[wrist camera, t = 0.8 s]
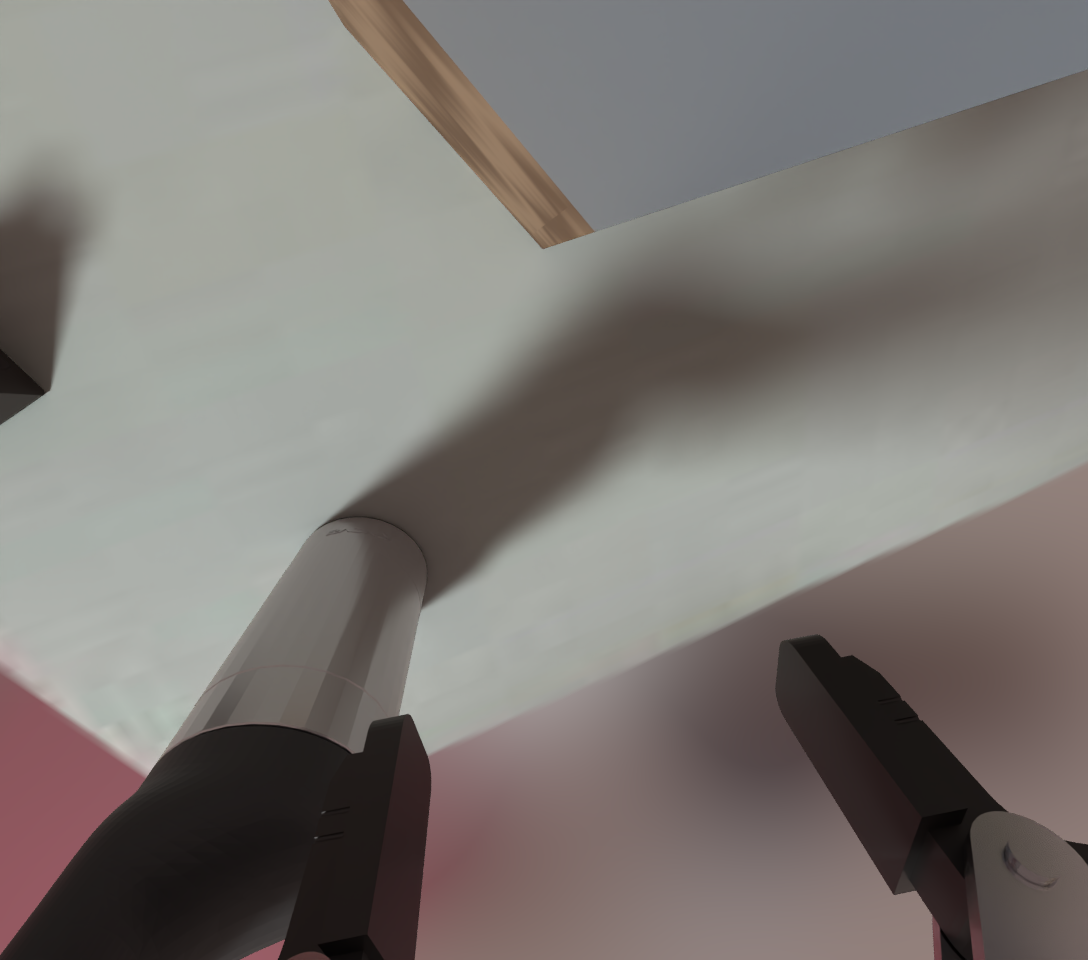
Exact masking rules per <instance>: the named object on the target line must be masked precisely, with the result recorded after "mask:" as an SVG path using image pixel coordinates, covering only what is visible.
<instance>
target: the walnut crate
mask: <svg viewBox="0 0 1088 960" xmlns="http://www.w3.org/2000/svg"><path fill="white" fill-rule="evenodd" d="M329 2H330V4H331V5H332V7H333V8H334V10H335V12H336V13H337V15H338V17H339V18H340V20H341V22H342V23H343V25H344V26H345V27H346V28H347V30H348V31H349V32H350V33H351V34H352V35H353V36H354V37H355V39H356V40H357V41H358V42H359V43H360V44H361V45H362V46H363V48H364V49H365V50H366V51H367V52H368V53H369V54H370V55H371V57H372V58H373V59H374V60H375V61H376V62H377V63H378V64H379V66H380V67H381V68H382V69H383V70H384V71H385V72H386V73H387V75H388V76H389V77H390V78H391V79H392V80H393V81H394V82H395V84H396V85H397V86H398V87H399V88H400V89H401V90H402V91H403V93H404V94H405V95H406V96H407V97H408V98H409V99H410V100H411V102H412V103H413V104H414V105H415V106H416V107H417V108H418V109H419V111H420V112H421V113H422V114H423V115H424V116H425V117H426V118H427V120H428V121H429V122H430V123H431V124H432V125H433V126H434V127H435V128H436V130H437V131H438V132H439V133H440V134H441V135H442V136H443V137H444V139H445V140H446V141H447V142H448V143H449V144H450V145H451V146H452V148H453V149H454V150H455V151H456V152H457V153H458V154H459V155H460V157H461V158H462V159H463V160H464V161H465V162H466V163H467V164H468V166H469V167H470V168H471V169H472V170H473V171H474V172H475V173H476V175H477V176H478V177H479V178H480V179H481V180H482V181H483V182H484V184H485V185H486V186H487V187H488V188H489V189H490V190H491V191H492V193H493V194H494V195H495V196H496V197H497V198H498V199H499V200H500V202H501V203H502V204H503V205H504V206H505V207H506V208H507V209H508V211H509V212H510V213H511V214H512V215H513V216H514V217H515V218H516V220H517V221H518V222H519V223H520V224H521V225H522V226H523V227H524V229H525V230H526V231H527V232H528V233H529V234H530V235H531V236H532V238H533V239H534V240H535V241H536V242H537V243H538V244H539V245H540V247H541V248H542V249H544V248H547V247H551V246H554V245H557V244H560V243H563V242H566V241H569V240H572V239H575V238H578V237H581V236H584V235H587V234H590V233H593V232H595V231H594V230H593V229H592V228H591V227H590V225H589V224H588V223H587V222H586V221H585V219H584V218H583V217H582V216H581V214H580V213H579V212H578V211H577V210H576V208H575V207H574V206H573V205H572V204H571V202H570V201H569V200H568V199H567V198H566V196H565V195H564V194H563V193H562V192H561V190H560V189H559V188H558V187H557V186H556V184H555V183H554V182H553V181H552V180H551V178H550V177H549V176H548V175H547V174H546V172H545V171H544V170H543V169H542V168H541V166H540V165H539V164H538V163H537V161H536V160H535V159H534V158H533V157H532V155H531V154H530V153H529V152H528V151H527V149H526V148H525V147H524V146H523V145H522V143H521V142H520V141H519V140H518V139H517V137H516V136H515V135H514V134H513V133H512V131H511V130H510V129H509V128H508V127H507V125H506V124H505V123H504V122H503V121H502V119H501V118H500V117H499V116H498V114H497V113H496V112H495V111H494V110H493V108H492V107H491V106H490V105H489V104H488V102H487V101H486V100H485V99H484V98H483V96H482V95H481V94H480V93H479V92H478V90H477V89H476V88H475V87H474V86H473V84H472V83H471V82H470V81H469V80H468V78H467V77H466V76H465V75H464V74H463V72H462V71H461V70H460V69H459V68H458V66H457V65H456V64H455V63H454V61H453V60H452V59H451V58H450V57H449V55H448V54H447V53H446V52H445V51H444V49H443V48H442V47H441V46H440V45H439V43H438V42H437V41H436V40H435V39H434V37H433V36H432V35H431V34H430V33H429V31H428V30H427V29H426V28H425V27H424V25H423V24H422V23H421V22H420V21H419V19H418V18H417V17H416V16H415V15H414V13H413V12H412V11H411V10H410V8H409V7H408V6H407V5H406V4H405V2H404V1H403V0H329Z"/></svg>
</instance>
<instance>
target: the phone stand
mask: <svg viewBox="0 0 1088 960" xmlns="http://www.w3.org/2000/svg"><path fill="white" fill-rule="evenodd" d="M43 394H44V390H43V389H42V388H41V387H40V386H39V385H38V384H37V383H35V382H34V381H33V380H32V379H31V378H30V377H29V376H28V375H27V374H26V373H25V372H24V371H23V370H22V369H21V368H20V367H19V366H18V365H17V364H15V363H14V362H13V361H12V360H11V359H10V358H9V357H8V356H7V355H6V354H5V353H4V352H3V351H2V350H1V349H0V424H1V423H3V422H4V421H6V420H7V419H9V418H10V417H12V416H13V415H14V414H16V413H17V412H19V411H20V410H22V409H23V408H25V407H26V406H28V405H29V404H30V403H32V402H33V401H35V400H36V399H38V398H39V397H41V396H42V395H43Z"/></svg>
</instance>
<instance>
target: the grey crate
mask: <svg viewBox="0 0 1088 960" xmlns="http://www.w3.org/2000/svg"><path fill="white" fill-rule="evenodd" d="M403 1H404V2H405V4H406V5H407V6H408V7H409V8H410V10H411V11H412V12H413V13H414V15H415V16H416V17H417V18H418V19H419V21H420V22H421V23H422V24H423V25H424V27H425V28H426V29H427V30H428V31H429V33H430V34H431V35H432V36H433V37H434V39H435V40H436V41H437V42H438V43H439V45H440V46H441V47H442V48H443V49H444V51H445V52H446V53H447V54H448V55H449V57H450V58H451V59H452V60H453V61H454V63H455V64H456V65H457V66H458V68H459V69H460V70H461V71H462V72H463V74H464V75H465V76H466V77H467V78H468V80H469V81H470V82H471V83H472V84H473V86H474V87H475V88H476V89H477V90H478V92H479V93H480V94H481V95H482V96H483V98H484V99H485V100H486V101H487V102H488V104H489V105H490V106H491V107H492V108H493V110H494V111H495V112H496V113H497V114H498V116H499V117H500V118H501V119H502V121H503V122H504V123H505V124H506V125H507V127H508V128H509V129H510V130H511V131H512V133H513V134H514V135H515V136H516V137H517V139H518V140H519V141H520V142H521V143H522V145H523V146H524V147H525V148H526V149H527V151H528V152H529V153H530V154H531V155H532V157H533V158H534V159H535V160H536V161H537V163H538V164H539V165H540V166H541V168H542V169H543V170H544V171H545V172H546V174H547V175H548V176H549V177H550V178H551V180H552V181H553V182H554V183H555V184H556V186H557V187H558V188H559V189H560V190H561V192H562V193H563V194H564V195H565V196H566V198H567V199H568V200H569V201H570V202H571V204H572V205H573V206H574V207H575V208H576V210H577V211H578V212H579V213H580V214H581V216H582V217H583V218H584V219H585V221H586V222H587V223H588V224H589V225H590V227H591V228H592V229H593V230H594V231H595V232H596V231H599V230H602V229H605V228H608V227H611V226H614V225H617V224H620V223H623V222H626V221H629V220H632V219H635V218H638V217H641V216H645V215H648V214H651V213H654V212H657V211H660V210H663V209H666V208H669V207H672V206H675V205H678V204H681V203H684V202H687V201H690V200H693V199H696V198H699V197H702V196H705V195H708V194H711V193H714V192H717V191H720V190H723V189H726V188H729V187H732V186H735V185H738V184H742V183H745V182H748V181H751V180H754V179H757V178H760V177H763V176H766V175H769V174H772V173H775V172H778V171H781V170H784V169H787V168H790V167H793V166H796V165H799V164H802V163H805V162H808V161H811V160H814V159H817V158H820V157H823V156H826V155H829V154H832V153H836V152H839V151H842V150H845V149H848V148H851V147H854V146H857V145H860V144H863V143H866V142H869V141H872V140H875V139H878V138H881V137H884V136H887V135H890V134H893V133H896V132H899V131H902V130H905V129H908V128H911V127H914V126H917V125H920V124H923V123H926V122H929V121H933V120H936V119H939V118H942V117H945V116H948V115H951V114H954V113H957V112H960V111H963V110H966V109H969V108H972V107H975V106H978V105H981V104H984V103H987V102H990V101H993V100H996V99H999V98H1002V97H1005V96H1008V95H1011V94H1014V93H1017V92H1020V91H1023V90H1027V89H1030V88H1033V87H1036V86H1039V85H1042V84H1045V83H1048V82H1051V81H1054V80H1057V79H1060V78H1063V77H1066V76H1069V75H1072V74H1075V73H1078V72H1081V71H1084V70H1087V69H1088V0H403Z"/></svg>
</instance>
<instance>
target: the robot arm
mask: <svg viewBox="0 0 1088 960" xmlns="http://www.w3.org/2000/svg"><path fill="white" fill-rule="evenodd" d="M426 580H427V567H426V562H425V559H424V557H423V554H422V552H421V550H420V549H419V547H418V546H417V544H416V543H415V542H414V541H413V540H412V539H411V538H410V537H409V536H408V535H407V534H406V533H405V532H403V531H402V530H400V529H398V528H397V527H395V526H394V525H391V524H389V523H386V522H383V521H381V520H376V519H371V518H365V517H351V518H345V519H339V520H336V521H333V522H330V523H328V524H325V525H324V526H322V527H321V528H319V529H318V530H316V531H315V532H314V533H313V534H312V535H311V536H310V537H309V538H308V539H307V540H306V542H305V543H304V545H303V546H302V547H301V549H300V550H299V552H298V553H297V555H296V556H295V558H294V559H293V561H292V562H291V564H290V565H289V567H288V568H287V570H286V571H285V572H284V574H283V575H282V577H281V578H280V580H279V581H278V583H277V584H276V586H275V587H274V589H273V590H272V592H271V593H270V595H269V596H268V598H267V599H266V601H265V602H264V604H263V605H262V606H261V608H260V609H259V611H258V612H257V614H256V615H255V617H254V618H253V620H252V621H251V623H250V624H249V626H248V627H247V629H246V630H245V632H244V633H243V635H242V636H241V638H240V639H239V641H238V642H237V644H236V645H235V647H234V648H233V650H232V651H231V653H230V654H229V655H228V657H227V658H226V660H225V661H224V663H223V664H222V666H221V667H220V669H219V670H218V672H217V673H216V675H215V676H214V678H213V679H212V681H211V682H210V684H209V685H208V687H207V688H206V690H205V691H204V693H203V694H202V696H201V697H200V699H199V700H198V702H197V703H196V705H195V707H194V708H193V710H192V711H191V713H190V714H189V716H188V717H187V718H186V720H185V721H184V723H183V724H182V726H181V727H180V729H179V730H178V732H177V733H176V735H175V736H174V738H173V739H172V741H171V742H170V744H169V745H168V747H167V748H166V750H165V751H164V753H163V754H162V756H161V757H160V759H159V760H158V762H157V763H156V765H155V766H154V767H153V769H152V770H151V772H150V773H149V775H148V776H147V778H146V779H145V781H144V782H143V783H142V785H141V787H140V788H139V789H138V791H137V792H136V793H135V794H134V795H132V796H131V797H130V798H129V799H128V800H126V801H125V802H124V803H123V804H121V805H120V806H119V807H118V808H117V809H116V810H115V811H113V813H111V815H109V816H108V817H107V818H106V819H105V820H104V821H103V822H102V824H101V825H100V826H99V827H98V828H97V829H96V830H95V831H94V832H93V833H92V835H91V836H90V837H89V838H88V840H87V841H86V842H85V843H84V844H83V846H82V847H81V848H80V850H79V851H78V852H77V854H76V855H75V856H74V857H73V859H72V860H71V862H70V863H69V864H68V866H67V867H66V868H65V869H64V871H63V872H62V874H61V875H60V876H59V878H58V879H57V881H56V882H55V883H54V884H53V886H52V887H51V888H50V890H49V891H48V893H47V894H46V895H45V897H44V898H43V899H42V901H41V902H40V903H39V905H38V906H37V908H36V909H35V910H34V912H33V913H32V914H31V915H30V917H29V918H28V919H27V921H26V922H25V923H24V925H23V926H22V927H21V928H20V930H19V931H18V933H17V934H16V935H15V936H14V938H13V939H12V940H11V942H10V943H9V944H8V946H7V947H6V948H5V950H4V951H3V952H2V954H1V955H0V960H240V959H242V958H244V957H246V956H248V955H250V954H252V953H254V952H256V951H259V950H261V949H263V948H266V947H268V946H270V945H273V944H275V943H277V942H279V941H282V940H284V939H285V942H284V945H283V948H282V951H281V953H280V956H279V958H278V960H414V959H415V949H416V939H417V929H418V917H419V908H420V898H421V888H422V878H423V867H424V856H425V846H426V837H427V826H428V816H429V806H430V796H431V771H430V764H429V759H428V756H427V754H426V751H425V749H424V746H423V744H422V741H421V739H420V736H419V734H418V731H417V729H416V726H415V724H414V721H413V719H412V717H411V715H409V714H406V715H401V716H399V712H400V707H401V702H402V698H403V693H404V688H405V683H406V678H407V673H408V668H409V664H410V659H411V654H412V649H413V644H414V639H415V635H416V630H417V625H418V620H419V616H420V611H421V606H422V601H423V597H424V592H425V587H426ZM775 689H776V697H777V701H778V705H779V708H780V710H781V712H782V715H783V717H784V718H785V720H786V722H787V723H788V725H789V727H790V728H791V730H792V731H793V733H794V735H795V736H796V738H797V740H798V741H799V743H800V744H801V746H802V747H803V749H804V751H805V752H806V754H807V756H808V757H809V759H810V760H811V762H812V764H813V765H814V767H815V769H816V770H817V772H818V773H819V775H820V777H821V778H822V780H823V781H824V783H825V785H826V786H827V788H828V789H829V791H830V793H831V794H832V796H833V798H834V799H835V801H836V803H837V804H838V806H839V807H840V809H841V811H842V812H843V814H844V815H845V817H846V818H847V820H848V822H849V823H850V825H851V827H852V828H853V830H854V832H855V833H856V835H857V836H858V838H859V840H860V841H861V843H862V844H863V846H864V848H865V849H866V851H867V853H868V854H869V856H870V857H871V859H872V860H873V862H874V864H875V865H876V867H877V869H878V870H879V872H880V873H881V875H882V877H883V878H884V880H885V882H886V883H887V885H888V886H889V888H890V890H891V891H892V893H893V894H894V895H897V894H901V893H906V892H911V891H917V892H918V894H919V896H920V897H921V898H922V900H923V902H924V903H925V905H926V906H927V908H928V909H929V911H930V912H931V914H932V930H933V947H934V960H1088V845H1087V844H1081V843H1075V842H1069V841H1065V840H1063V839H1062V838H1060V837H1059V836H1058V835H1056V834H1055V833H1054V832H1052V831H1051V830H1049V829H1047V828H1046V827H1044V826H1043V825H1040V824H1039V823H1037V822H1035V821H1033V820H1031V819H1028V818H1026V817H1023V816H1020V815H1017V814H1014V813H1009V812H1008V811H1006V810H1005V809H1004V808H1003V807H1002V806H1001V805H999V804H998V803H997V802H996V801H995V800H994V799H993V798H992V797H991V796H990V795H989V794H988V793H987V791H986V790H985V789H984V788H983V787H982V786H981V785H980V784H979V783H978V781H977V780H976V779H975V778H974V777H973V776H972V775H971V774H970V773H969V772H968V770H967V769H966V768H965V767H964V766H963V765H962V764H961V763H960V762H959V761H958V759H957V758H956V757H955V756H954V755H953V754H952V753H951V752H950V750H949V749H948V748H947V747H946V746H945V745H944V744H943V743H942V742H941V740H940V739H939V738H938V737H937V736H936V735H935V734H934V733H933V732H932V730H931V729H930V728H929V727H928V726H927V725H926V724H925V723H924V722H923V721H920V720H919V718H918V715H917V714H916V713H915V712H914V711H913V709H912V708H911V707H910V706H909V705H908V704H907V703H906V702H905V701H902V700H901V697H900V695H899V694H898V693H897V692H896V691H895V689H894V688H893V687H892V686H891V685H890V684H889V683H888V682H887V681H886V680H885V678H884V677H883V676H882V675H881V674H880V673H879V672H877V671H876V670H874V669H873V668H871V667H870V666H868V665H867V664H865V663H863V662H862V661H860V660H859V659H857V658H856V657H854V656H852V655H851V656H846V657H840V656H839V655H838V653H837V652H836V651H835V650H834V649H833V648H832V646H831V645H830V644H829V643H828V642H827V641H826V639H825V638H823V637H822V636H820V635H818V634H816V635H810V636H805V637H800V638H795V639H790V640H784V641H782V642H781V644H780V648H779V657H778V668H777V677H776V688H775Z"/></svg>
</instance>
